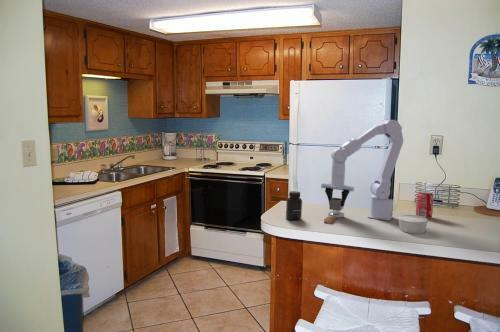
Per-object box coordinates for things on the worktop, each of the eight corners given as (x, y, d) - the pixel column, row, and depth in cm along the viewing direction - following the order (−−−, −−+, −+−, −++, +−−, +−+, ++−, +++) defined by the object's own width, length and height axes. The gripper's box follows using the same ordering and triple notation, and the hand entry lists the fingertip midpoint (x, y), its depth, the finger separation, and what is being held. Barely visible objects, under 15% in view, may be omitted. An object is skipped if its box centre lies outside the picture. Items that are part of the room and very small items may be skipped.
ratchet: (330, 213, 193) (331, 204, 192) (345, 215, 190) (346, 206, 189) (319, 222, 179) (319, 211, 178) (335, 224, 175) (335, 214, 175)
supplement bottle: (296, 221, 178) (297, 194, 177) (282, 219, 182) (283, 192, 181) (304, 218, 184) (305, 192, 182) (291, 215, 188) (292, 189, 186)
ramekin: (400, 234, 164) (401, 221, 163) (394, 226, 175) (395, 213, 174) (430, 235, 163) (431, 222, 162) (422, 227, 173) (423, 215, 173)
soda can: (429, 215, 193) (431, 190, 191) (434, 219, 186) (436, 193, 184) (413, 215, 194) (415, 189, 192) (418, 219, 187) (420, 192, 185)
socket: (343, 208, 189) (343, 198, 188) (340, 210, 184) (340, 200, 184) (332, 207, 191) (332, 197, 190) (329, 209, 187) (329, 199, 186)
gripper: (319, 175, 186) (318, 205, 188) (351, 178, 179) (350, 209, 181) (324, 173, 192) (323, 202, 194) (356, 176, 185) (354, 206, 187)
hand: (336, 205), depth 188 cm, fingers closed on socket, 5 cm apart
